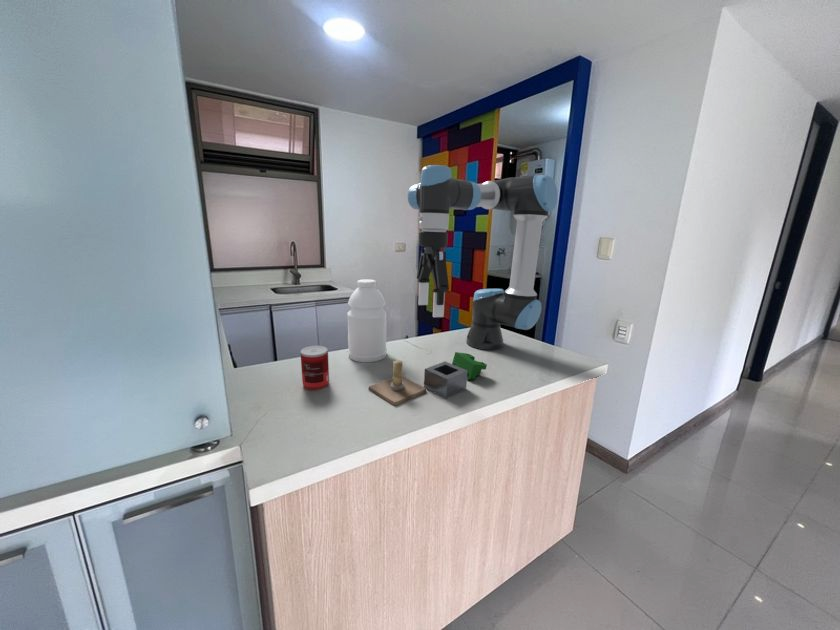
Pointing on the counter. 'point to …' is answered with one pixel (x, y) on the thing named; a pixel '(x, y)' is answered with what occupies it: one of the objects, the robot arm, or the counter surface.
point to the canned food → (315, 367)
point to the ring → (445, 379)
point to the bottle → (366, 323)
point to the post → (397, 387)
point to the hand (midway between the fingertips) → (430, 310)
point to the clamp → (468, 364)
